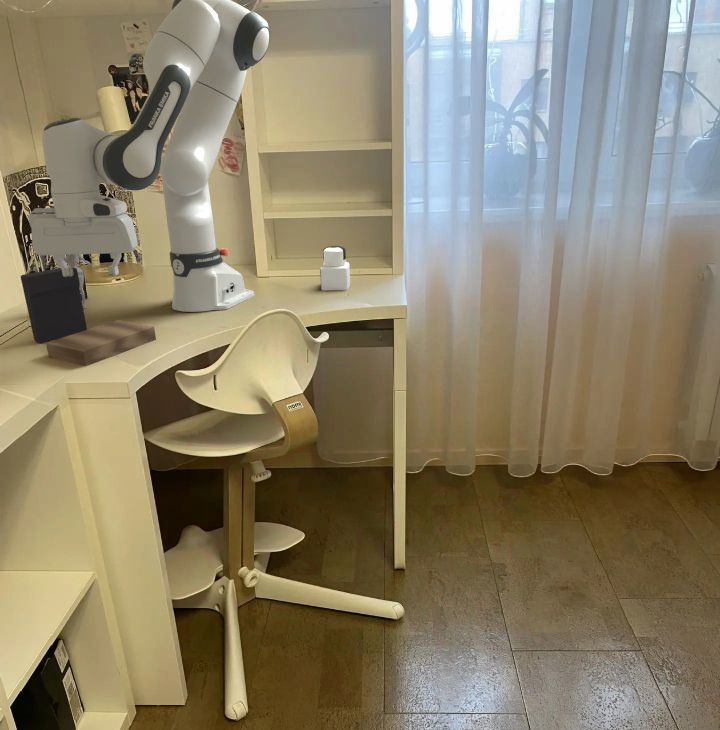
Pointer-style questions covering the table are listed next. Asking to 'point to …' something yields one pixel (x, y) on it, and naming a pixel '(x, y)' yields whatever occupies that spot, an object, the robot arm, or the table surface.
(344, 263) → the medicine bottle
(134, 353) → the table surface
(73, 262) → the human figurine
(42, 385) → the table surface
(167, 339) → the table surface
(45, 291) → the black upright rectangular block
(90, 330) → the walnut plinth
